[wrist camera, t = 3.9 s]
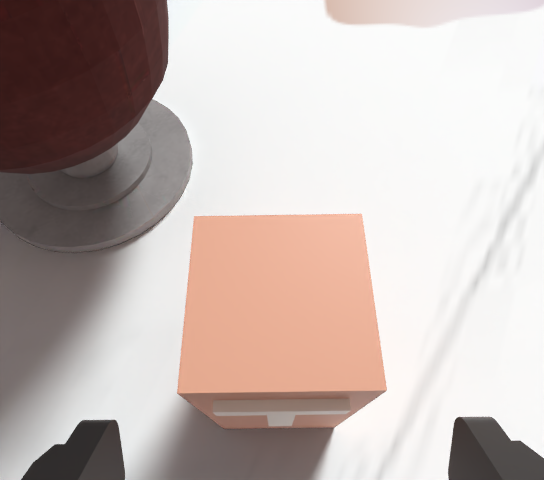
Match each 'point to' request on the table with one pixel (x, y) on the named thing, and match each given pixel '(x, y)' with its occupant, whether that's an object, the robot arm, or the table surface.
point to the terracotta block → (280, 321)
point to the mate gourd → (86, 122)
